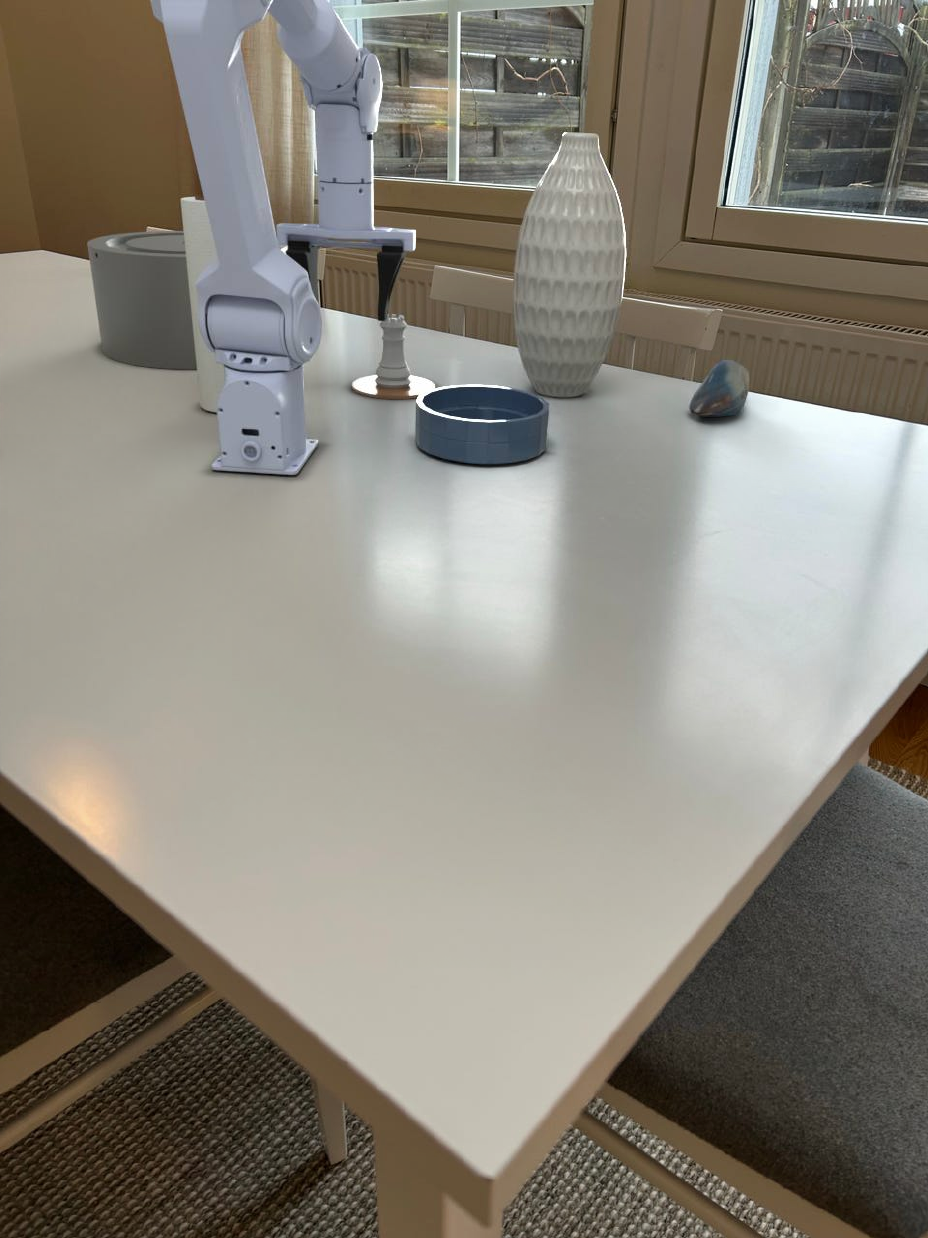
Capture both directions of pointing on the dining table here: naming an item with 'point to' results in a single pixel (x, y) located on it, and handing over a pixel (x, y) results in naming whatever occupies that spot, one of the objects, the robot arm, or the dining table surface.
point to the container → (144, 298)
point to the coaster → (371, 389)
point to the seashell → (722, 391)
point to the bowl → (481, 424)
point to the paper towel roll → (197, 257)
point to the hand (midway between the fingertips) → (348, 317)
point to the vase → (569, 270)
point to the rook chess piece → (393, 355)
